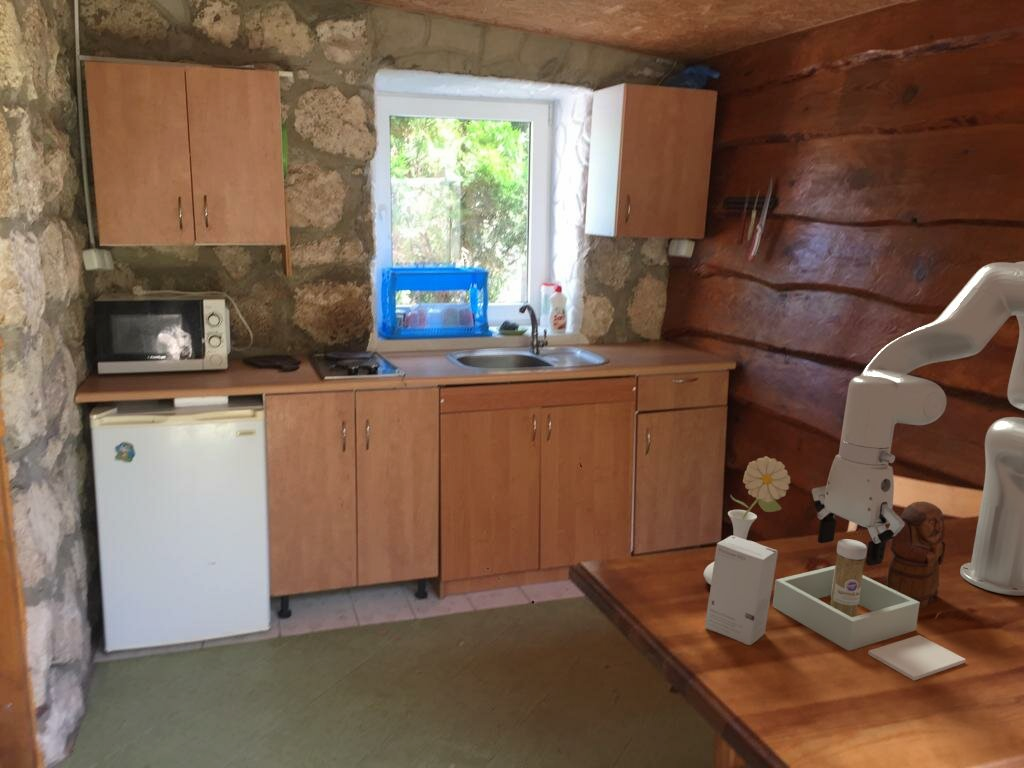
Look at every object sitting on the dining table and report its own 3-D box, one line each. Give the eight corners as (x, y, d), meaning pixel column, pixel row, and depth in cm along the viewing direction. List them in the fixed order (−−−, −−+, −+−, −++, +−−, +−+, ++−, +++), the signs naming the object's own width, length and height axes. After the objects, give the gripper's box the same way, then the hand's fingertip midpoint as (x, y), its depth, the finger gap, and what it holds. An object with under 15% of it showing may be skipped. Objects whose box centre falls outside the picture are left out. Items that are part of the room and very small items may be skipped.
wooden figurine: (914, 614, 142) (930, 515, 139) (878, 600, 147) (892, 504, 143) (944, 596, 150) (960, 502, 146) (909, 583, 155) (923, 491, 151)
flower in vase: (697, 592, 147) (710, 457, 142) (708, 568, 158) (720, 441, 152) (774, 608, 143) (790, 469, 137) (779, 582, 153) (795, 452, 148)
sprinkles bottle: (838, 625, 137) (848, 549, 135) (822, 612, 142) (832, 538, 139) (862, 623, 138) (873, 548, 136) (846, 610, 143) (856, 537, 140)
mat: (918, 638, 134) (919, 635, 134) (965, 662, 128) (965, 659, 127) (868, 654, 129) (868, 650, 129) (914, 680, 122) (914, 676, 122)
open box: (836, 590, 151) (840, 564, 150) (915, 630, 137) (919, 602, 136) (772, 606, 143) (775, 579, 142) (848, 650, 129) (852, 621, 128)
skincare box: (704, 629, 134) (712, 542, 131) (721, 616, 139) (729, 532, 136) (753, 647, 129) (763, 558, 126) (769, 634, 134) (779, 547, 131)
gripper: (927, 466, 128) (909, 570, 132) (836, 437, 143) (823, 531, 147) (895, 470, 125) (878, 577, 128) (805, 440, 140) (792, 536, 143)
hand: (848, 552), depth 137 cm, fingers open, 9 cm apart
